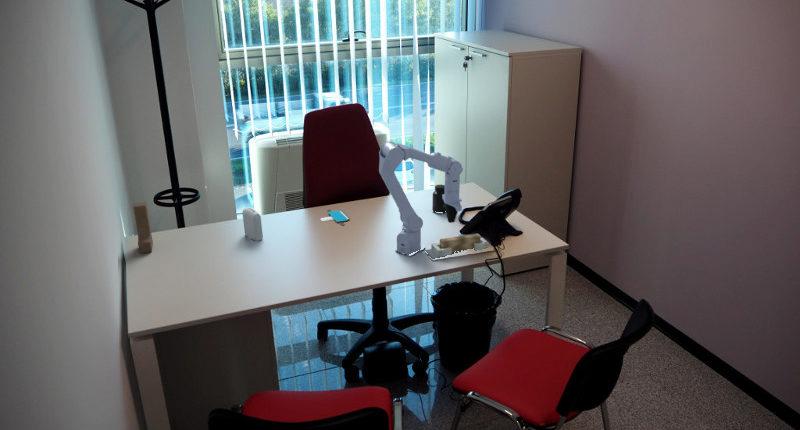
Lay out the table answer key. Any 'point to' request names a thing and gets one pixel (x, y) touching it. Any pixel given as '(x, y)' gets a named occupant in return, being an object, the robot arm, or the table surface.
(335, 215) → the phone stand
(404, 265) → the table surface
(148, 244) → the wooden block
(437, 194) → the supplement bottle
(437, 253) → the cradle
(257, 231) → the photo printer
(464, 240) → the slat
